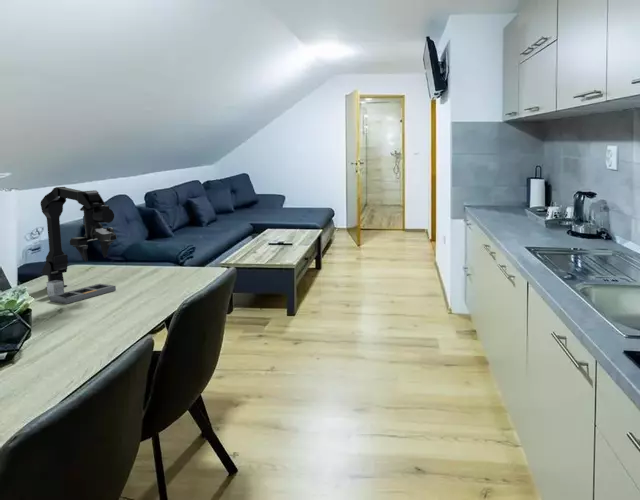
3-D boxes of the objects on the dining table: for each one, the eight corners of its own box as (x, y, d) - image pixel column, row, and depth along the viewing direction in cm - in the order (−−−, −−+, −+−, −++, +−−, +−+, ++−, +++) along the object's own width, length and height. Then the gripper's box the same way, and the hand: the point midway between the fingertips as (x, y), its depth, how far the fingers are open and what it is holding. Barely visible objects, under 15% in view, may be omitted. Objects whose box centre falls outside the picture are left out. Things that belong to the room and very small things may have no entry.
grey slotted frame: (50, 301, 233) (49, 296, 233) (100, 288, 253) (99, 283, 253) (66, 304, 228) (65, 298, 228) (115, 290, 248) (115, 285, 248)
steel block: (47, 296, 241) (46, 282, 240) (57, 294, 245) (56, 279, 244) (54, 297, 239) (53, 283, 238) (64, 295, 243) (63, 280, 242)
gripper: (85, 225, 226) (89, 265, 229) (124, 219, 242) (127, 257, 245) (67, 224, 232) (71, 263, 235) (105, 218, 248) (109, 255, 250)
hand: (95, 259), depth 241 cm, fingers open, 9 cm apart
